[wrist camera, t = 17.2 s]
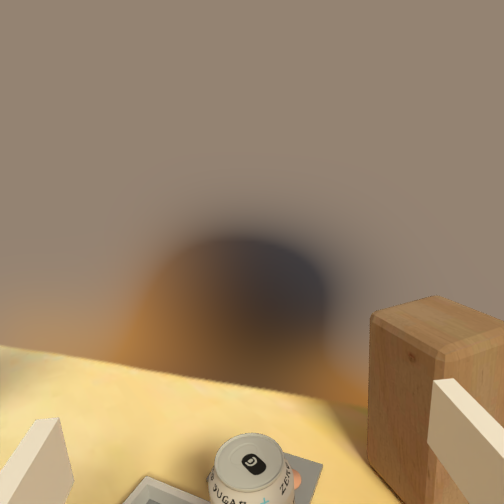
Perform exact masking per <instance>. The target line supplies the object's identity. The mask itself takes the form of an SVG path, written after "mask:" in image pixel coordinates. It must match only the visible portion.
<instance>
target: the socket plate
mask: <svg viewBox="0 0 504 504" xmlns="http://www.w3.org/2000/svg"><path fill="white" fill-rule="evenodd" d="M123 504H210V502H209V501H207V500H204V499H202V498H199V497H197V496H194V495H192V494H190V493H187V492H185V491H182V490H180V489H177V488H175V487H172V486H170V485H168V484H165V483H163V482H160V481H158V480H155V479H153V478H150V477H148V476H146V477H145V478H144V479H143V480H142V481H141V483H140V484H139V485H138V486H137V487H136V488H135V490H134V491H133V492H132V493H131V494H130V495H129V497H128V498H127V499H126V500H125V501H124V503H123Z"/></svg>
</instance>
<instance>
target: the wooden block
mask: <svg viewBox="0 0 504 504" xmlns="http://www.w3.org/2000/svg"><path fill="white" fill-rule="evenodd" d="M369 344H370V345H369V390H368V439H367V457H368V460H369V462H370V464H371V466H372V467H373V468H374V469H375V471H376V472H377V473H378V474H379V475H380V476H381V477H382V478H383V479H384V481H385V482H386V483H387V484H388V485H389V486H390V487H391V488H392V489H393V491H394V492H395V493H396V494H397V495H398V496H399V497H400V498H401V500H402V501H403V502H404V503H405V504H469V502H468V501H467V499H466V498H465V496H464V495H463V494H462V492H461V491H460V489H459V488H458V486H457V485H456V483H455V482H454V481H453V479H452V478H451V476H450V475H449V473H448V472H447V471H446V469H445V468H444V466H443V465H442V463H441V462H440V460H439V459H438V458H437V456H436V455H435V453H434V452H433V450H432V449H431V448H430V446H429V445H428V443H427V438H428V428H429V417H430V407H431V397H432V386H433V380H441V379H451V378H454V379H455V380H456V381H457V382H458V383H459V384H460V385H461V386H462V387H463V388H464V389H465V390H466V391H467V392H468V393H469V394H470V395H471V396H472V397H473V398H474V399H475V400H476V401H477V402H478V403H479V404H480V405H481V406H482V407H483V408H484V409H485V410H486V411H487V412H488V413H489V414H490V415H491V416H492V417H493V418H494V419H495V420H496V421H497V422H498V423H499V424H500V425H501V426H502V427H503V428H504V321H502V320H500V319H497V318H495V317H492V316H489V315H487V314H484V313H482V312H479V311H477V310H474V309H472V308H469V307H467V306H464V305H462V304H459V303H457V302H454V301H452V300H449V299H446V298H444V297H441V296H430V297H426V298H422V299H419V300H415V301H412V302H407V303H404V304H400V305H396V306H393V307H389V308H385V309H381V310H378V311H375V312H374V313H372V315H371V317H370V342H369Z"/></svg>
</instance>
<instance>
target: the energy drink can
mask: <svg viewBox="0 0 504 504" xmlns="http://www.w3.org/2000/svg"><path fill="white" fill-rule="evenodd" d="M214 464H215V465H214V466H213V468H212V470H211V473H210V476H209V481H208V488H209V497H210V504H295V493H294V477H293V471H292V468H291V466H290V464H289V463H288V461H287V460H286V458H285V457H284V454H283V451H282V449H281V447H280V446H279V444H278V443H277V442H276V441H275V440H273V439H272V438H270V437H268V436H266V435H263V434H259V433H245V434H240V435H238V436H235V437H233V438H231V439H229V440H228V441H226V442H225V443H224V444H223V445H222V446H221V447H220V449H219V450H218V452H217V454H216V457H215V463H214Z"/></svg>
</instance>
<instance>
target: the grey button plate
mask: <svg viewBox="0 0 504 504" xmlns="http://www.w3.org/2000/svg"><path fill="white" fill-rule="evenodd" d="M283 454H284V457H285V458H286V460H287V461H288V463H289V464H290V466H291V468H292V471H293V477H294V493H295V504H310V503H311V500H312V498H313V495H314V492H315V489H316V486H317V483H318V480H319V477H320V474H321V471H322V468H323V464H319V463H316V462H313V461H310V460H307V459H303V458H300V457H297V456H294V455H290V454H287V453H284V452H283ZM209 476H210V474H209ZM209 476H208V477H207V479H206V482H208V481H209Z"/></svg>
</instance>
